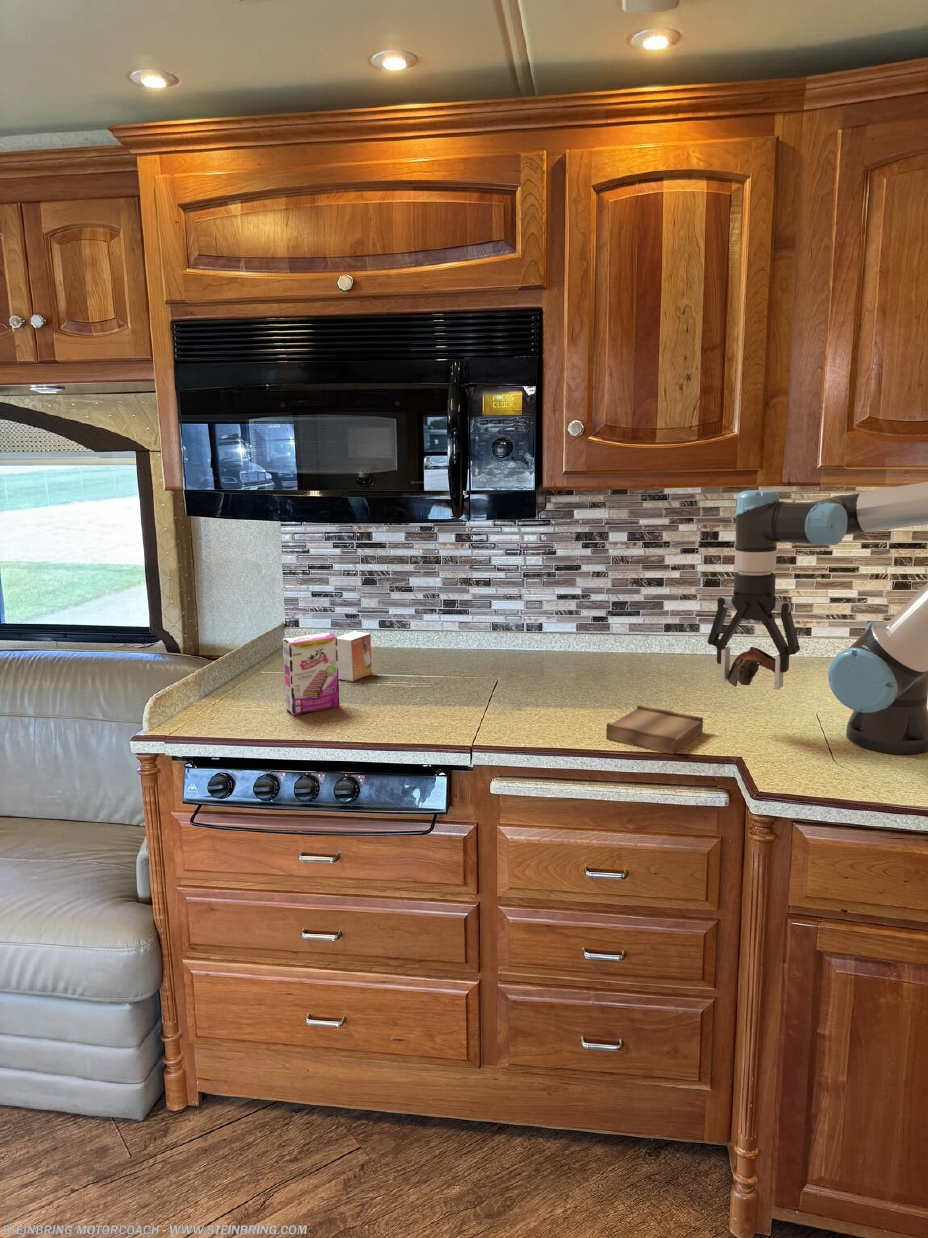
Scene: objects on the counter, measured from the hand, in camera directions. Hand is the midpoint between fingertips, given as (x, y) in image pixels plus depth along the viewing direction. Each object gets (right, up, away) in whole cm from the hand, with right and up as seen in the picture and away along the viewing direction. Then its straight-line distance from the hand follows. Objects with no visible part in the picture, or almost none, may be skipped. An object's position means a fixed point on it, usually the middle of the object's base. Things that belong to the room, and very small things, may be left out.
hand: (751, 683), depth 172 cm
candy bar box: (-90, -7, +22) cm, 93 cm away
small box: (-84, -2, +46) cm, 95 cm away
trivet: (-19, -10, +2) cm, 21 cm away
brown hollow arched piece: (0, 0, 0) cm, 1 cm away
